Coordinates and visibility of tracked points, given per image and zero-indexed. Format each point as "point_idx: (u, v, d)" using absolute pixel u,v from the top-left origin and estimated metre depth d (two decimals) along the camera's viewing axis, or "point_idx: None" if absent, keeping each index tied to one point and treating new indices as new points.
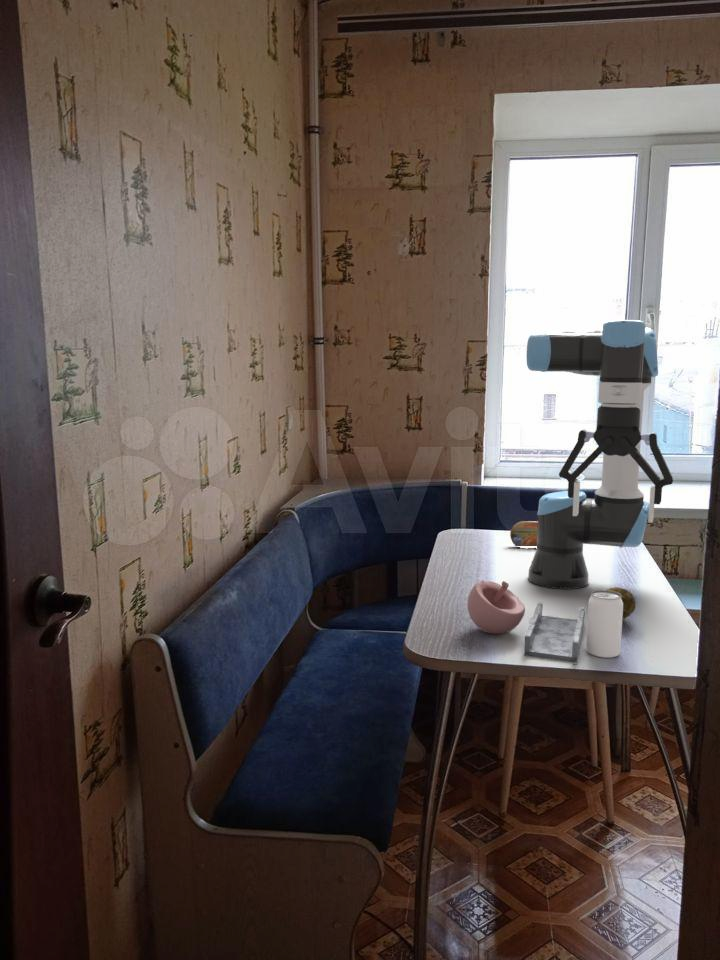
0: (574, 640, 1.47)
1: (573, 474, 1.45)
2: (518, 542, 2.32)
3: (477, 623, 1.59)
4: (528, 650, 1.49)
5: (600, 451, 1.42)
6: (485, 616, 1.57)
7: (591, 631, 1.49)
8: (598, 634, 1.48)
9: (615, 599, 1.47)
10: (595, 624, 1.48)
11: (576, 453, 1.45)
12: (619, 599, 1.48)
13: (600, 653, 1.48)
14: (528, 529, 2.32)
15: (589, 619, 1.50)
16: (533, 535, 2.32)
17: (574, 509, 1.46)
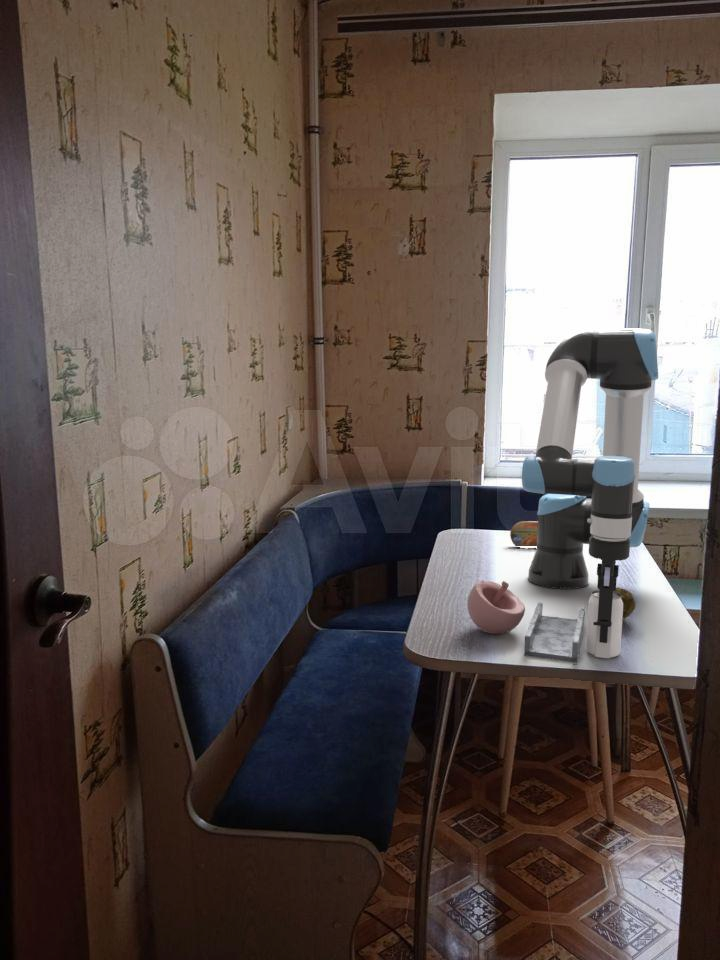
0: (574, 640, 1.47)
1: None
2: (518, 542, 2.32)
3: (477, 623, 1.59)
4: (528, 650, 1.49)
5: None
6: (485, 616, 1.57)
7: (591, 631, 1.49)
8: None
9: (615, 599, 1.47)
10: None
11: None
12: (619, 599, 1.48)
13: None
14: (528, 529, 2.32)
15: (589, 619, 1.50)
16: (533, 535, 2.32)
17: None
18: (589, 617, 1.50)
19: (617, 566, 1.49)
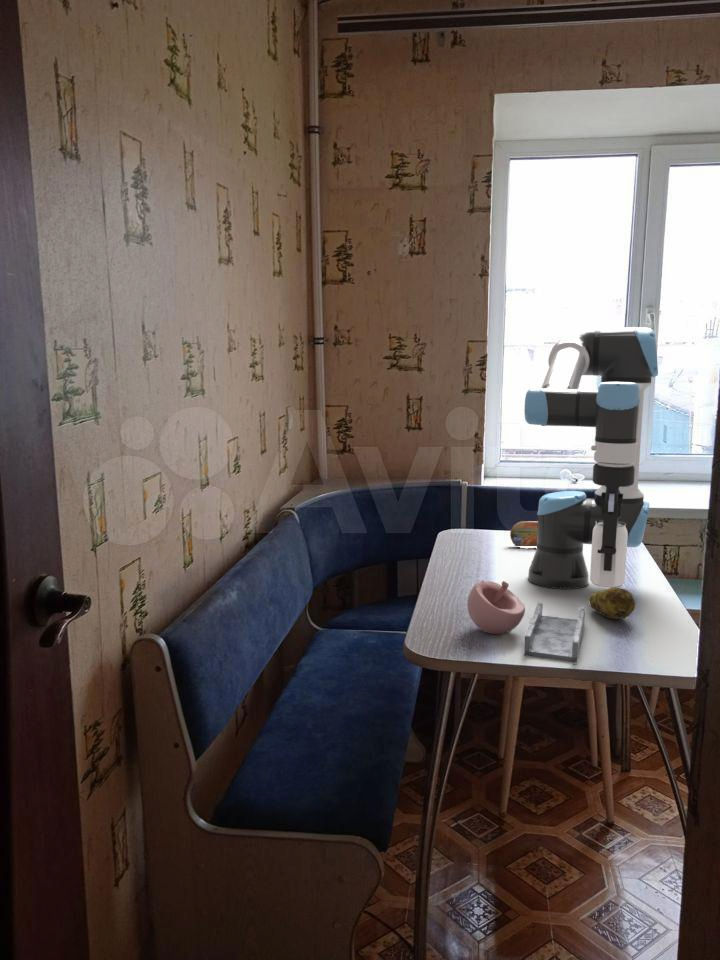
0: (574, 640, 1.47)
1: None
2: (518, 542, 2.32)
3: (477, 623, 1.59)
4: (528, 650, 1.49)
5: None
6: (485, 616, 1.57)
7: (595, 560, 1.47)
8: None
9: (619, 527, 1.45)
10: (599, 553, 1.46)
11: None
12: (623, 527, 1.45)
13: None
14: (528, 529, 2.32)
15: (593, 549, 1.47)
16: (533, 535, 2.32)
17: None
18: (593, 546, 1.48)
19: (621, 494, 1.47)
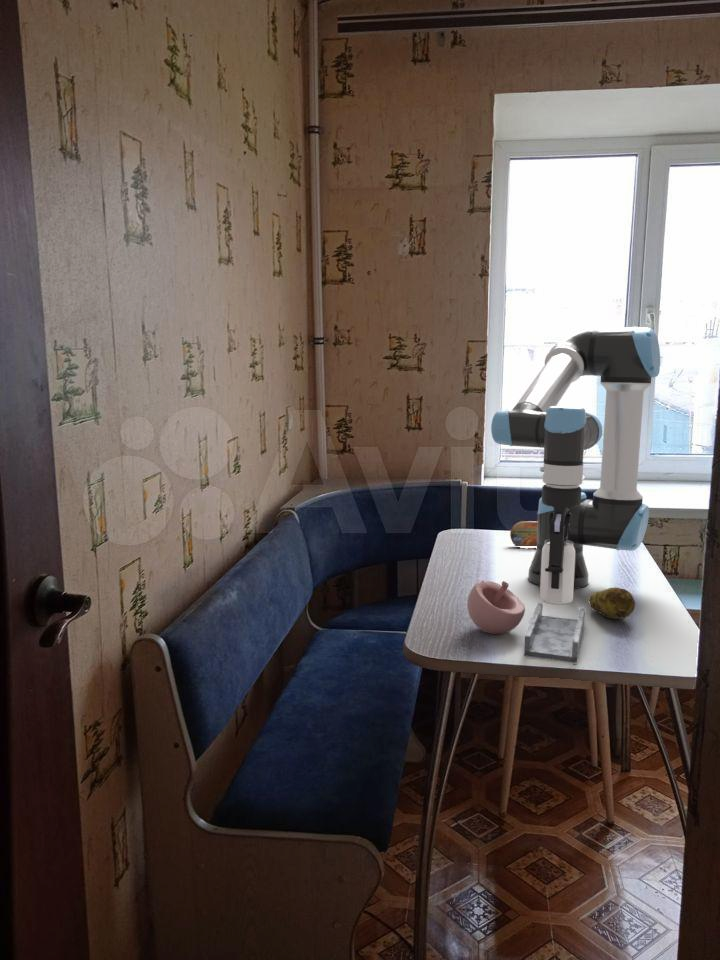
0: (574, 640, 1.47)
1: None
2: (518, 542, 2.32)
3: (477, 623, 1.59)
4: (528, 650, 1.49)
5: None
6: (485, 616, 1.57)
7: (544, 578, 1.52)
8: None
9: (567, 546, 1.50)
10: None
11: None
12: (571, 546, 1.50)
13: None
14: (528, 529, 2.32)
15: (542, 567, 1.52)
16: (533, 535, 2.32)
17: None
18: (542, 565, 1.52)
19: (569, 514, 1.51)
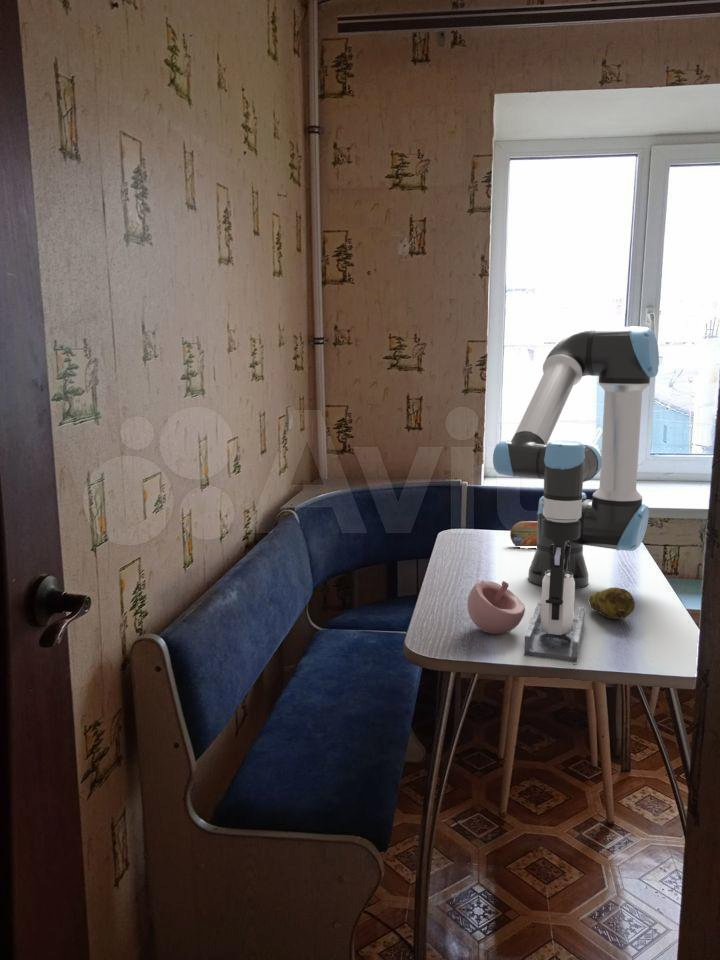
0: (574, 640, 1.47)
1: None
2: (518, 542, 2.32)
3: (477, 623, 1.59)
4: (528, 650, 1.49)
5: None
6: (485, 616, 1.57)
7: (544, 609, 1.55)
8: None
9: (566, 578, 1.53)
10: None
11: None
12: (571, 578, 1.54)
13: None
14: (528, 529, 2.32)
15: (543, 598, 1.56)
16: (533, 535, 2.32)
17: None
18: (542, 596, 1.56)
19: (569, 546, 1.55)
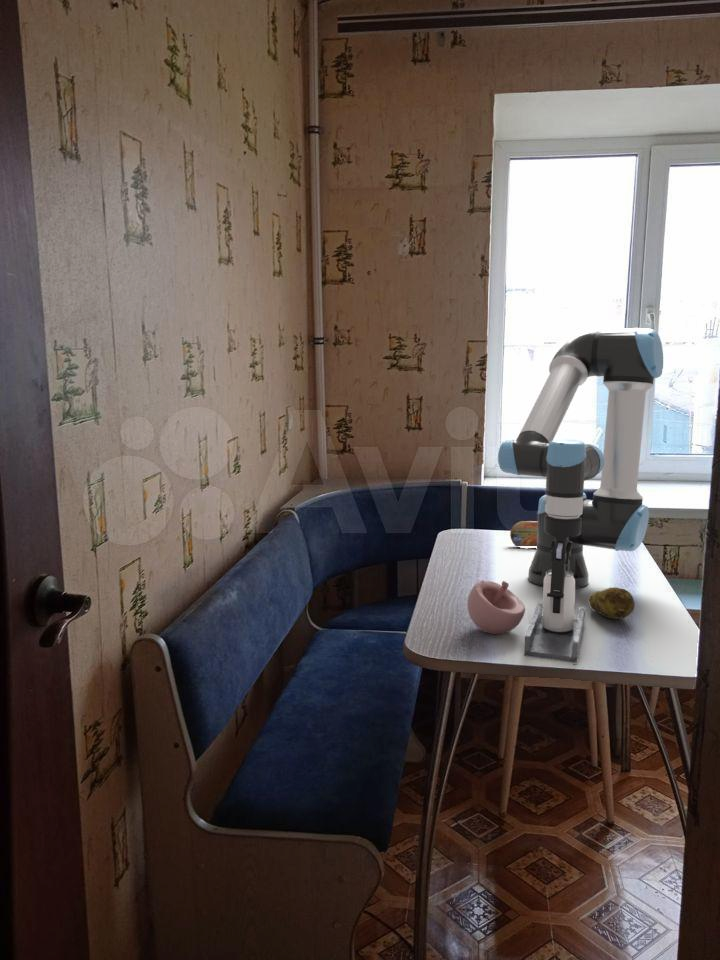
0: (574, 640, 1.47)
1: None
2: (518, 542, 2.32)
3: (477, 623, 1.59)
4: (528, 650, 1.49)
5: None
6: (485, 616, 1.57)
7: (546, 608, 1.60)
8: None
9: (567, 577, 1.58)
10: (549, 601, 1.59)
11: None
12: (571, 577, 1.58)
13: (554, 628, 1.59)
14: (528, 529, 2.32)
15: (544, 596, 1.60)
16: (533, 535, 2.32)
17: None
18: (544, 594, 1.60)
19: (570, 543, 1.59)
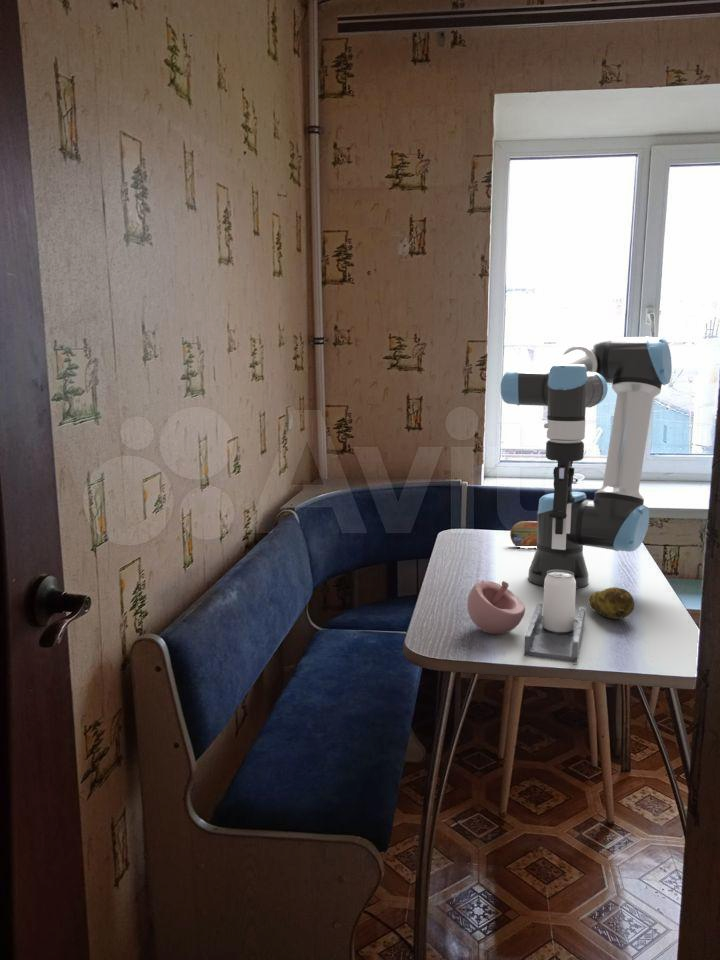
0: (574, 640, 1.47)
1: None
2: (518, 542, 2.32)
3: (477, 623, 1.59)
4: (528, 650, 1.49)
5: None
6: (485, 616, 1.57)
7: (546, 608, 1.60)
8: (552, 611, 1.59)
9: (568, 578, 1.57)
10: (549, 601, 1.59)
11: None
12: (572, 578, 1.58)
13: (554, 628, 1.59)
14: (528, 529, 2.32)
15: (545, 597, 1.60)
16: (533, 535, 2.32)
17: None
18: (544, 595, 1.60)
19: (572, 469, 1.58)
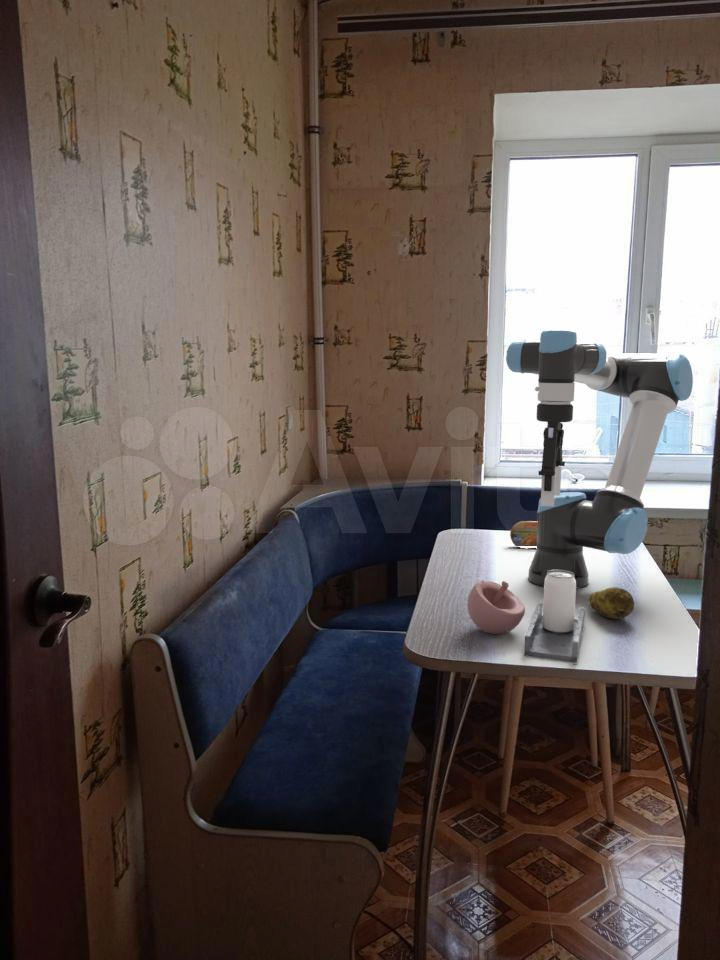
0: (574, 640, 1.47)
1: None
2: (518, 542, 2.32)
3: (477, 623, 1.59)
4: (528, 650, 1.49)
5: None
6: (485, 616, 1.57)
7: (546, 608, 1.60)
8: (552, 610, 1.59)
9: (568, 578, 1.57)
10: (550, 601, 1.59)
11: None
12: (572, 578, 1.58)
13: (554, 628, 1.59)
14: (528, 529, 2.32)
15: (545, 597, 1.60)
16: (533, 535, 2.32)
17: None
18: (544, 595, 1.60)
19: (562, 431, 1.65)
